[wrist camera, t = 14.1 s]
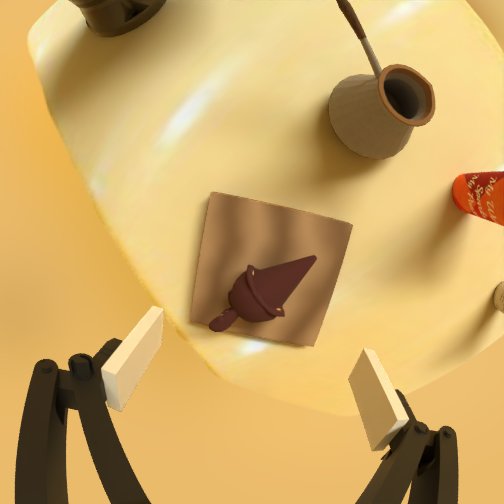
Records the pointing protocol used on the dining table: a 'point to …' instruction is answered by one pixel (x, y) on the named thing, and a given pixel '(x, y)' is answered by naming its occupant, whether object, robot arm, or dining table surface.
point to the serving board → (268, 263)
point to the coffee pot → (379, 103)
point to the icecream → (262, 293)
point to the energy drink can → (499, 297)
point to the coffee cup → (481, 195)
